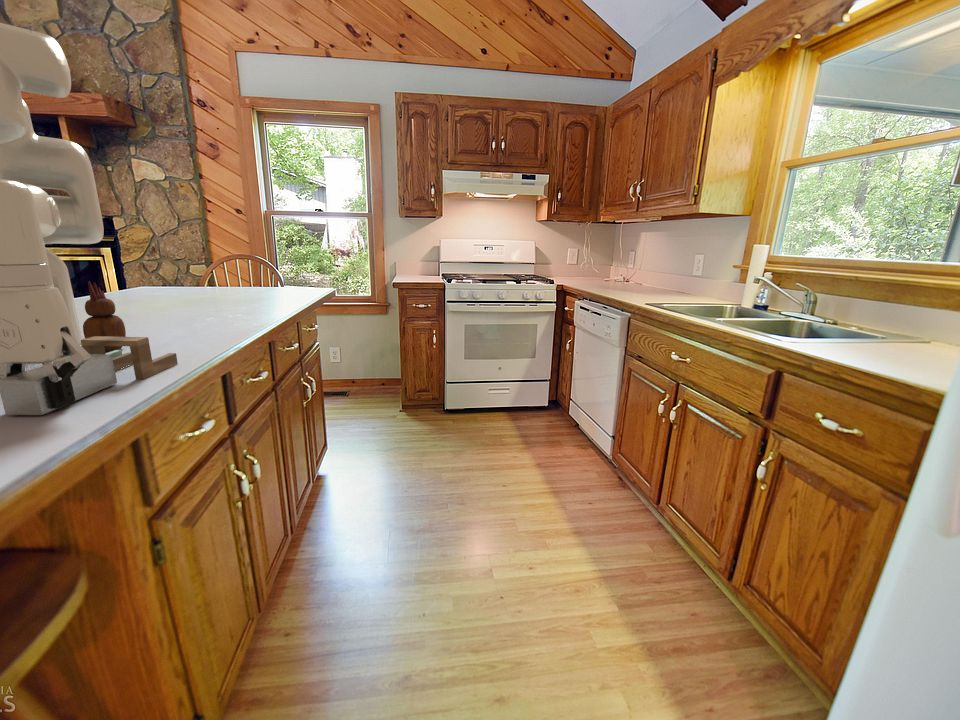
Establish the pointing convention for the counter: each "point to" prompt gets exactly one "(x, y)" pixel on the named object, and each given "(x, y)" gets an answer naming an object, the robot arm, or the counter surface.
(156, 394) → the counter surface
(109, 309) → the wooden figurine
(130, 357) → the brown wooden stepped stand
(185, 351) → the counter surface
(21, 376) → the bar
